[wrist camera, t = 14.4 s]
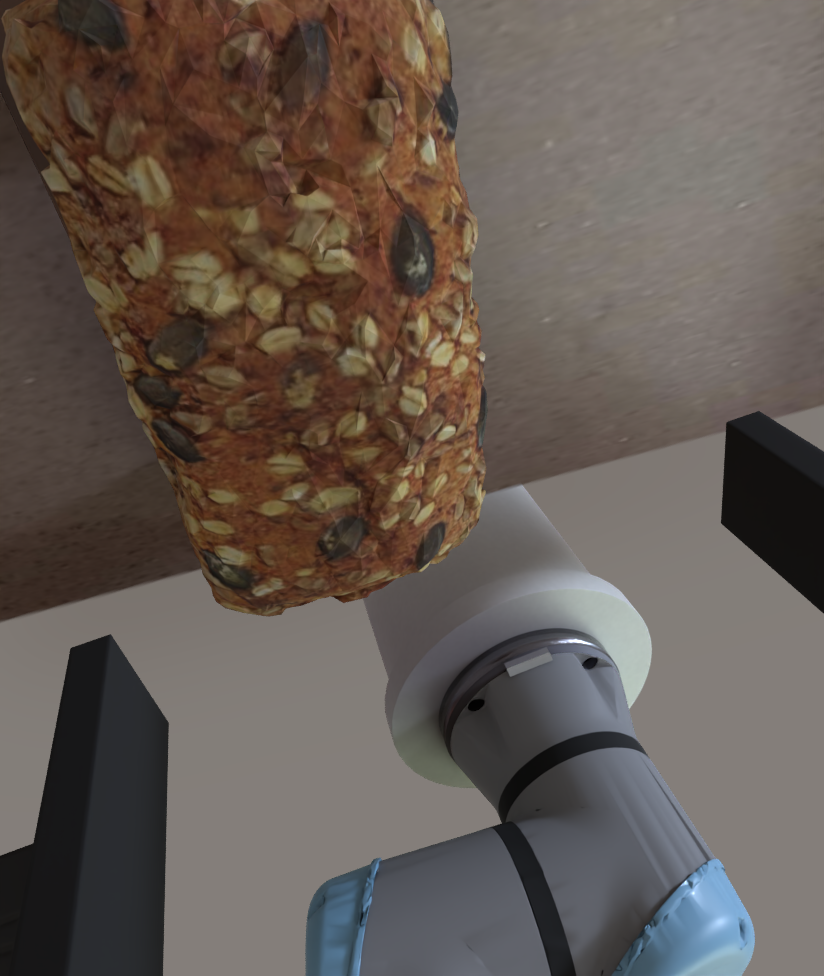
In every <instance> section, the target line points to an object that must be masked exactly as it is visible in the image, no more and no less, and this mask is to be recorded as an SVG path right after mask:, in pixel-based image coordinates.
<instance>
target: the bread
mask: <svg viewBox="0 0 824 976" xmlns="http://www.w3.org/2000/svg"><path fill="white" fill-rule="evenodd" d="M1 19H2V23H3V26H4V30H5V33H6V37H5V42H4V48H3V54H2V59H3V65H4V71H5V76H6V82H7V84H8V87H9V89H10V91H11V94H12V96H13V98H14V101H15V103H16V106H17V108H18V110H19V113H20V115H21V117H22V120H23V121H24V123H25V125H26V127H27V129H28V131H29V132H30V134H31V136H32V138H33V140H34V141H35V143H36V144H37V146H38V147H39V149H40V150H41V152H42V153H43V155H44V156H45V158H46V159H47V160H48V162H49V163H50V165H49V166H48V167H46V168H45V169H44V170H43V171H41V174H42V175H43V177H44V179H45V181H46V183H47V185H48V186H49V188H50V190H51V192H52V194H53V196H54V198H55V200H56V202H57V204H58V207H59V209H60V212H61V214H62V216H63V219H64V221H65V224H66V226H67V229H68V233H69V237H70V242H71V246H72V250H73V253H74V256H75V258H76V261H77V264H78V266H79V269H80V272H81V274H82V277H83V280H84V282H85V285H86V288H87V290H88V293H89V294H90V295H91V296H92V297H93V298H94V299H95V300H96V304H95V307H94V312H95V314H96V316H97V318H98V320H99V323H100V325H101V327H102V329H103V331H104V333H105V336H106V338H107V340H108V341H109V342H110V343H111V344H112V345H113V348H114V352H115V354H116V356H115V357H116V360H117V364H118V367H119V371H120V374H121V376H122V377H123V379H124V381H125V384H126V387H127V393H128V400H129V403H130V405H131V407H132V408H133V410H134V412H135V414H136V416H137V418H139V419H140V420H141V421H142V422H143V424H142V428H143V430H144V431H145V433H146V435H147V436H148V438H149V440H150V441H151V443H152V445H153V446H154V448H155V451H156V454H157V458H158V461H159V464H160V466H161V467H162V469H163V470H164V472H165V474H166V475H167V477H168V480H169V482H170V484H171V486H172V488H173V490H174V493H175V496H176V499H177V502H178V507H179V511H180V514H181V517H182V521H183V524H184V527H185V529H186V532H187V535H188V537H189V540H190V542H191V545H192V547H193V549H194V552H195V554H196V557H197V558H198V559H199V561H200V563H201V568H202V573H203V575H204V577H205V578H206V580H207V581H208V583H209V585H210V586H211V588H212V593H213V596H214V598H215V600H216V602H217V603H219V604H221V605H222V606H223V607H225V608H227V609H231V610H235V611H239V612H242V613H248V614H256V615H262V616H274V615H281V614H282V613H283V611H284V610H285V609H286V608H290V607H296V606H301V605H304V604H307V603H310V602H313V601H315V600H317V599H321V598H326V597H329V596H331V597H334V598H336V599H338V600H339V601H341V602H343V603H345V602H349V601H354V600H358V599H362V598H366V597H368V596H369V594H370V593H371V592H373V591H376V590H379V589H382V588H383V587H385V586H386V585H388V584H389V583H390V582H392V581H393V580H395V579H396V578H399V577H403V576H405V575H406V574H410V573H416V572H422V571H423V570H424V569H425V568H426V567H428V565H429V563H431V564H438V563H439V562H440V561H442V560H443V559H444V558H446V557H447V555H448V553H449V551H450V550H451V549H453V548H454V547H457V546H459V545H460V544H461V543H462V542H463V541H464V539H466V538H467V536H468V535H469V533H470V530H471V529H472V528H473V527H475V526H476V525H477V523H478V521H479V514H480V510H481V505H482V502H483V499H484V496H485V493H486V492H485V490H483V489H482V486H483V481H484V477H485V472H486V464H485V459H484V455H483V450H482V443H483V439H484V432H485V425H486V417H487V393H486V390H485V388H484V387H483V385H482V384H483V381H484V378H485V377H484V373H483V367H484V361H485V354H484V353H483V352H482V351H481V350H480V349H479V348H478V347H479V346H480V340H481V332H482V331H481V329H480V327H479V325H478V323H477V317H478V313H479V307H478V304H477V302H476V301H475V300H474V299H473V298H472V297H471V295H472V278H473V273H472V271H471V268H470V263H471V256H472V254H473V252H474V250H475V247H476V243H477V238H478V224H477V218H476V217H475V215H474V214H473V213H472V211H471V210H470V208H469V204H468V199H467V194H466V191H465V189H464V186H463V184H462V182H461V180H460V174H459V166H458V161H457V154H456V147H455V140H454V138H455V132H456V126H457V120H458V107H457V102H456V98H455V96H454V93H453V90H452V88H451V80H452V62H451V52H450V43H449V35H448V31H447V28H446V26H445V23H444V21H443V18H442V15H441V13H440V10H439V9H437V8H436V7H435V5H434V3H433V0H26V1H24V2H22V3H20V4H19V5H17V6H15V7H13V8H12V9H9V10H5V12H4V14H3V16H2V18H1Z"/></svg>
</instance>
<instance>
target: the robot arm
mask: <svg viewBox="0 0 824 976" xmlns="http://www.w3.org/2000/svg"><path fill="white" fill-rule="evenodd" d="M725 443H726V444H725V460H724V479H723V498H722V516H721V523H722V525H724V526H725V527H726V528H727V529H728V530H729V531H730V532H732V533H733V534H734V535H735V536H736V537H737V538H738V539H740V540H741V541H742V542H743V543H744V544H745V545H746V546H748V547H749V548H750V549H751V550H752V551H753V552H754V553H755V554H757V555H758V556H759V557H760V558H761V559H762V560H763V561H765V562H766V563H767V564H768V565H769V566H770V567H771V568H772V569H774V570H775V571H776V572H777V573H778V574H779V575H781V576H782V577H783V578H784V579H785V580H786V581H787V582H788V583H790V584H791V585H792V586H793V587H794V588H795V589H796V590H798V591H799V592H800V593H801V594H802V595H803V596H804V597H806V598H807V599H808V600H809V601H810V602H811V603H812V604H813V605H815V606H816V607H817V608H818V609H819V610H820V611H821V612H823V613H824V452H823V451H822V450H820V449H818V448H817V447H815V446H813V445H812V444H811V443H809V442H807V441H806V440H804V439H803V438H801V437H799V436H798V435H796V434H795V433H793V432H792V431H790V430H788V429H786V428H785V427H783V426H782V425H780V424H779V423H777V422H776V421H774V420H772V419H771V418H769V417H768V416H766V415H764V414H763V413H761V412H760V411H758V412H755V413H752V414H749V415H746V416H743V417H740V418H737V419H735V420H732V421H729V422H727V424H726V442H725ZM168 727H169V723H168V721H167V720H166V718H165V717H164V715H163V714H162V712H161V710H160V709H159V707H158V706H157V704H156V703H155V701H154V700H153V698H152V697H151V695H150V694H149V692H148V691H147V689H146V688H145V686H144V684H143V683H142V681H141V680H140V678H139V677H138V675H137V674H136V672H135V671H134V669H133V668H132V666H131V665H130V663H129V662H128V660H127V658H126V657H125V655H124V654H123V652H122V651H121V649H120V648H119V646H118V645H117V643H116V642H115V640H114V639H113V637H112V636H111V635H107V636H104V637H101V638H98V639H96V640H93V641H90V642H87V643H84V644H81V645H78V646H75V647H72V648H71V649H70V654H69V660H68V665H67V670H66V675H65V681H64V686H63V691H62V697H61V702H60V707H59V712H58V718H57V723H56V728H55V733H54V738H53V744H52V749H51V755H50V760H49V765H48V770H47V776H46V781H45V786H44V791H43V797H42V802H41V807H40V812H39V817H38V823H37V828H36V833H35V838H34V843H33V844H31V845H28V846H25V847H23V848H20V849H17V850H15V851H12V852H9V853H7V854H4V855H1V856H0V976H163V944H164V902H165V859H166V816H167V815H166V814H167V771H168ZM439 728H440V731H441V734H442V737H443V739H444V742H445V745H446V748H447V750H448V753H449V754H450V756H451V758H452V759H453V760H454V761H455V763H456V764H457V765H458V766H459V767H460V768H461V770H462V771H463V772H464V773H465V774H466V775H467V776H468V778H469V779H470V780H471V781H472V782H473V783H474V785H475V786H476V787H477V788H478V789H479V790H480V791H481V793H482V794H483V795H484V796H485V797H486V798H487V800H488V801H489V802H490V803H491V804H492V805H493V806H494V808H495V809H496V810H497V813H498V815H499V817H500V820H501V822H502V824H500V825H496V826H493V827H489V828H486V829H483V830H480V831H477V832H474V833H471V834H467V835H464V836H461V837H457V838H454V839H451V840H448V841H445V842H441V843H438V844H435V845H431V846H428V847H425V848H421V849H418V850H415V851H412V852H408V853H405V854H402V855H399V856H396V857H392V858H389V859H386V860H381V858H376V859H374V860H373V861H372V863H371V864H370V865H367V866H365V867H362V868H359V869H357V870H354V871H351V872H348V873H346V874H343V875H340V876H338V877H335V878H332V879H330V880H328V881H326V882H325V883H324V884H323V885H321V887H320V888H319V889H318V890H317V891H316V893H315V894H314V896H313V899H312V901H311V903H310V907H309V910H308V917H307V925H306V953H305V954H306V976H741V975H742V974H743V972H744V970H745V969H746V967H747V965H748V963H749V962H750V959H751V957H752V953H753V950H754V944H755V936H754V929H753V925H752V922H751V919H750V917H749V915H748V913H747V911H746V909H745V908H744V906H743V904H742V902H741V901H740V899H739V897H738V896H737V894H736V892H735V890H734V888H733V887H732V885H731V883H730V881H729V879H728V878H727V876H726V874H725V869H724V867H723V865H722V863H721V862H720V860H718V859H716V858H715V857H714V855H713V854H712V852H711V851H710V849H709V848H708V846H707V845H706V843H705V841H704V840H703V838H702V837H701V835H700V834H699V833H698V831H697V829H696V828H695V826H694V825H693V823H692V822H691V820H690V819H689V817H688V816H687V814H686V813H685V811H684V810H683V808H682V807H681V805H680V804H679V802H678V801H677V799H676V798H675V796H674V795H673V793H672V792H671V790H670V789H669V787H668V786H667V784H666V782H664V779H663V778H662V776H661V775H660V773H659V772H658V771H657V769H656V767H655V766H654V764H653V763H652V761H651V760H650V759H649V757H648V756H647V754H646V752H645V751H644V749H643V748H642V746H641V745H640V743H639V742H638V740H637V738H636V735H635V732H634V727H633V723H632V720H631V716H630V712H629V708H628V704H627V700H626V696H625V692H624V688H623V684H622V680H621V677H620V673H619V670H618V668H617V666H616V664H615V662H614V661H613V660H612V658H611V657H610V655H609V654H608V652H607V651H606V649H605V648H604V647H603V645H602V644H601V643H600V642H599V641H598V640H596V639H595V638H594V637H592V636H590V635H589V634H586V633H584V632H581V631H577V630H573V629H565V628H549V629H541V630H535V631H531V632H527V633H524V634H520V635H517V636H515V637H512V638H510V639H507V640H505V641H503V642H501V643H499V644H497V645H495V646H493V647H492V648H490V649H488V650H487V651H485V652H484V653H482V654H481V655H479V656H478V657H477V658H475V659H474V660H473V661H472V662H471V663H469V664H468V665H467V666H466V667H465V668H464V669H463V670H462V671H461V672H460V673H459V675H458V676H457V677H456V678H455V679H454V681H453V682H452V683H451V685H450V686H449V688H448V690H447V691H446V693H445V695H444V697H443V700H442V703H441V706H440V710H439Z"/></svg>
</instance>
